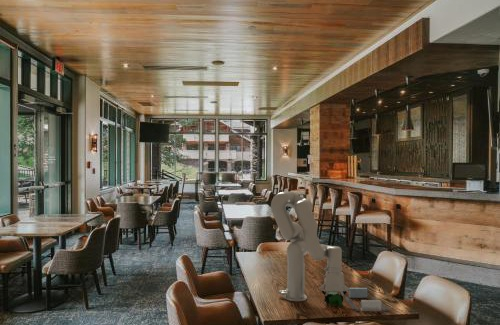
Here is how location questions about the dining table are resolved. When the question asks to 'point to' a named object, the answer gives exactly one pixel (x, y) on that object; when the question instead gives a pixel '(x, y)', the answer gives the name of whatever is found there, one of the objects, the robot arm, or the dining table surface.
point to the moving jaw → (358, 292)
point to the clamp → (334, 299)
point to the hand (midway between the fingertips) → (333, 302)
